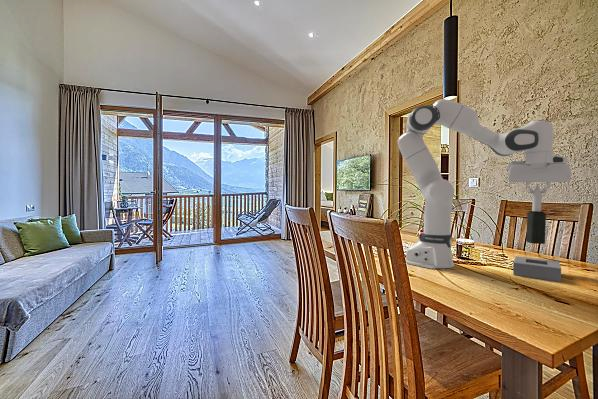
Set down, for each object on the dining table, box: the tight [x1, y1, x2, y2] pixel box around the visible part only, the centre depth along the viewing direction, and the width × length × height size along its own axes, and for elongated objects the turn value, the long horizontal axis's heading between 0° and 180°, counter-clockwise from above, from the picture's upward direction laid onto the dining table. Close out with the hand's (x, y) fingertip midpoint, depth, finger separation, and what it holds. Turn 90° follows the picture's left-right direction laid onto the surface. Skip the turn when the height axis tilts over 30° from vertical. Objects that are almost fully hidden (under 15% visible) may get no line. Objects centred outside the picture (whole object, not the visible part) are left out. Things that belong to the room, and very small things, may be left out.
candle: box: [525, 183, 547, 245], centre depth 120 cm, size 5×5×25 cm
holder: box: [512, 255, 562, 283], centre depth 114 cm, size 14×14×5 cm
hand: (537, 193), depth 119 cm, fingers closed on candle, 3 cm apart
